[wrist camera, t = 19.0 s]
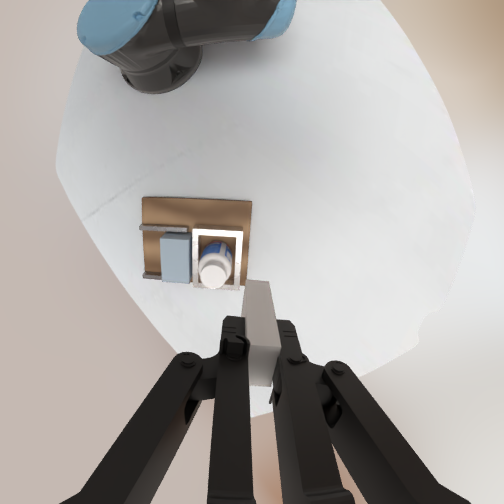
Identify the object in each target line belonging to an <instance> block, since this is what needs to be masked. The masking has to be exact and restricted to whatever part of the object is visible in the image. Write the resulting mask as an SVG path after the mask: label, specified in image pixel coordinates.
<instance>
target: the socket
mask: <svg viewBox="0 0 504 504" xmlns="http://www.w3.org/2000/svg"><path fill="white" fill-rule="evenodd" d="M201 235H210V236H227V237H237V240H236V257H235V275H234V278H228V279H227V280H226V281H225V283H224V284H223V285H222V286H221V287H219V288H216V289H225V290H239V286H240V270H241V254H242V239H243V227H233V226H216V225H197V224H195V226H194V227H193V231H192V269H193V287H196V288H208V287H206V286H205V285H204V284H203V283H202V282H201V279H200V275H199V272H198V265H199V261H200V259H201ZM210 289H211V288H210Z"/></svg>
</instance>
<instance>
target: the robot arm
mask: <svg viewBox="0 0 504 504" xmlns="http://www.w3.org/2000/svg"><path fill="white" fill-rule="evenodd" d="M296 2H297V0H89V1H88V2H87V3H86V5H85V6H84V8H83V10H82V12H81V14H80V16H79V19H78V23H77V35H78V38H79V40H80V42H81V43H82V44H83V45H84V46H86V47H87V48H88V49H89V50H90V51H91V52H92V53H93V54H95V55H98V56H100V57H101V58H103V59H105V60H107V61H109V62H110V63H112V64H114V65H116V66H118V67H119V68H120V70H121V73H122V76H123V78H124V79H125V81H126V82H127V83H128V84H129V85H130V86H131V87H133V88H134V89H136V90H138V91H140V92H143V93H147V94H161V93H165V92H169V91H171V90H174V89H176V88H178V87H179V86H181V85H182V84H184V83H185V82H186V81H187V80H188V79H190V77H191V76H192V75H193V74H194V73H195V71H196V70H197V68H198V66H199V64H200V61H201V57H202V47H201V45H204V44H212V43H221V42H231V41H245V40H246V41H255V40H257V39H270V38H275V37H278V36H280V35H282V34H283V33H284V32H285V31H286V30H287V28H288V27H289V25H290V23H291V21H292V18H293V15H294V11H295V7H296ZM272 380H273V390H272V393H271V397H270V400H269V404H271V402H272V403H273V412H274V420H275V421H274V422H275V431H276V440H277V450H278V459H279V469H280V477H281V478H280V479H281V487H282V488H281V489H282V498H283V504H355V500H354V497H353V495H352V493H351V492H350V491H349V490H346V489H344V488H343V485H342V482H341V478H340V474H339V470H338V466H337V462H336V458H335V454H334V450H333V447H332V444H333V446H334V448H335V449H336V451H337V453H338V455H339V456H340V458H341V460H342V461H343V463H344V465H345V467H346V468H347V470H348V472H349V473H350V475H351V476H352V478H353V480H354V482H355V483H356V485H357V487H358V488H359V490H360V492H361V493H362V495H363V497H364V498H365V500H366V502H367V503H368V504H471V503H470V502H469V501H468V500H466V499H464V498H462V497H461V496H459V495H457V494H456V493H454V492H452V491H450V490H449V489H447V488H445V487H444V486H442V485H441V484H439V483H438V482H437V480H436V479H435V478H434V476H433V475H432V474H431V473H430V471H429V470H428V468H427V467H426V466H425V465H424V463H423V462H422V461H421V459H420V458H419V457H418V455H417V454H416V453H415V451H414V450H413V449H412V448H411V446H410V445H409V444H408V442H407V441H406V440H405V439H404V437H403V436H402V434H401V433H400V432H399V431H398V429H397V428H396V427H395V425H394V424H393V423H392V422H391V420H390V419H389V418H388V416H387V415H386V414H385V412H384V411H383V410H382V409H381V407H380V406H379V405H378V403H377V402H376V401H375V400H374V398H373V397H372V396H371V394H370V393H369V392H368V391H367V389H366V388H365V387H364V386H363V384H362V383H361V381H360V380H359V379H358V378H357V376H356V375H355V374H354V372H353V371H352V370H351V369H350V367H349V366H348V365H347V364H345V363H343V362H341V361H330V362H328V363H327V364H326V365H325V366H320V365H316V364H313V363H311V362H309V359H308V358H307V356H306V355H304V354H303V353H302V351H301V347H300V344H299V340H298V337H297V333H296V329H295V326H294V325H293V324H292V323H291V321H290V320H277V319H276V316H275V310H274V305H273V300H272V295H271V289H270V284H269V282H268V281H258V280H248V279H246V283H245V290H244V298H243V305H242V313H241V317H236V316H226V318H225V319H224V320H223V325H222V334H221V340H220V349H219V352H218V354H216V355H215V356H213V357H211V358H205V359H202V358H201V357H200V356H199V355H197V354H195V353H192V352H182V353H179V354H177V355H176V356H175V357H174V358H173V360H172V361H171V363H170V364H169V365H168V367H167V368H166V370H165V371H164V372H163V374H162V375H161V377H160V378H159V380H158V381H157V382H156V384H155V385H154V387H153V388H152V389H151V391H150V392H149V394H148V395H147V397H146V398H145V399H144V401H143V402H142V404H141V405H140V407H139V408H138V409H137V411H136V412H135V414H134V415H133V417H132V418H131V419H130V421H129V422H128V424H127V425H126V426H125V428H124V429H123V431H122V432H121V434H120V435H119V437H118V438H117V440H116V441H115V442H114V444H113V445H112V446H111V448H110V449H109V451H108V452H107V454H106V455H105V456H104V458H103V459H102V461H101V462H100V464H99V465H98V467H97V468H96V470H95V471H94V472H93V474H92V475H91V477H90V478H89V480H88V481H87V482H86V484H85V485H84V487H83V488H82V490H81V491H80V492H79V493H77V494H76V495H74V496H72V497H71V498H69V499H67V500H65V501H63V502H62V503H60V504H150V503H151V501H152V499H153V497H154V495H155V493H156V491H157V489H158V487H159V486H160V484H161V482H162V480H163V478H164V476H165V474H166V472H167V470H168V468H169V466H170V464H171V462H172V460H173V458H174V456H175V454H176V452H177V450H178V448H179V446H180V444H181V442H182V441H183V439H184V436H185V434H186V433H187V430H188V428H189V426H190V424H191V422H192V420H193V418H194V416H195V414H196V412H197V410H198V408H199V406H200V404H201V402H202V400H207V399H213V398H215V403H214V414H213V426H212V439H211V451H210V465H209V466H210V467H209V479H208V495H207V504H256V500H255V499H254V496H253V476H252V453H251V425H250V396H249V386H266V387H271V384H272Z"/></svg>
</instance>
